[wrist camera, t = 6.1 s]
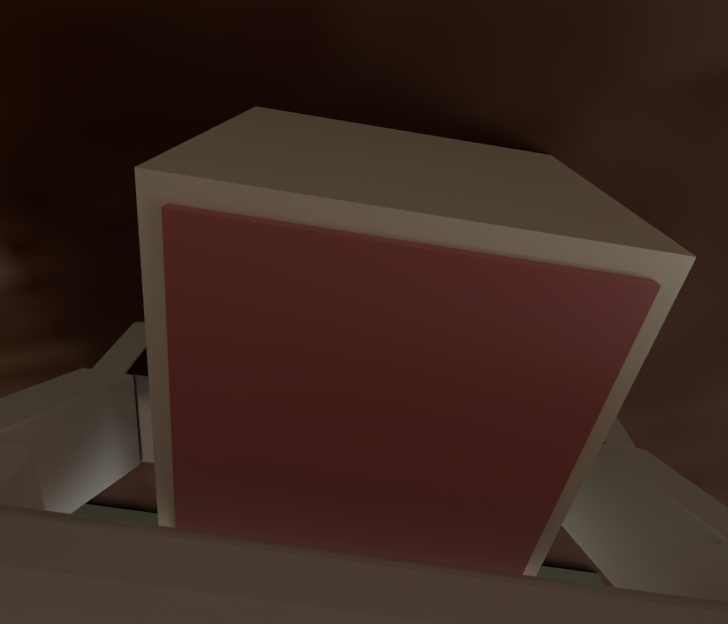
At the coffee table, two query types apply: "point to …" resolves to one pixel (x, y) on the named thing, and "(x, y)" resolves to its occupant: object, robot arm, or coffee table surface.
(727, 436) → the coffee table surface
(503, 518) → the card case
